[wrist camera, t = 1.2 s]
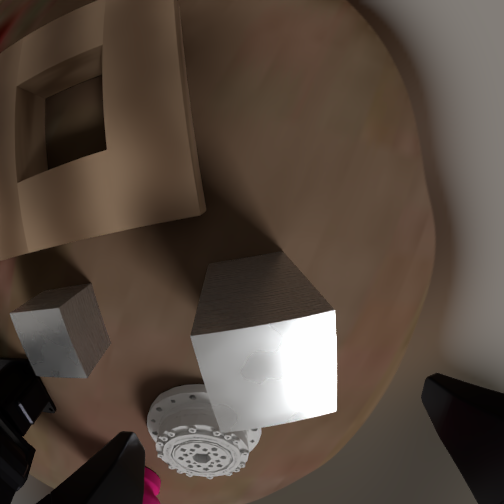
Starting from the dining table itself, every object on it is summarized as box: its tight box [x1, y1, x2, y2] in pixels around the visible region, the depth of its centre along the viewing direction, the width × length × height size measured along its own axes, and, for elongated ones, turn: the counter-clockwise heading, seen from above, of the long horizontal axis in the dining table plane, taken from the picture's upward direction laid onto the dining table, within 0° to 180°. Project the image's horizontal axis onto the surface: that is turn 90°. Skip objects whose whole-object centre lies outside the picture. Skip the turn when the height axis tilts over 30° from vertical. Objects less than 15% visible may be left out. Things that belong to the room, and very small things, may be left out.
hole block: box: [0, 0, 206, 261], centre depth 14 cm, size 16×16×4 cm
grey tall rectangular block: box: [191, 251, 337, 433], centre depth 15 cm, size 5×5×10 cm
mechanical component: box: [147, 384, 261, 479], centre depth 20 cm, size 10×4×10 cm
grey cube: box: [10, 283, 111, 378], centre depth 17 cm, size 5×5×5 cm
